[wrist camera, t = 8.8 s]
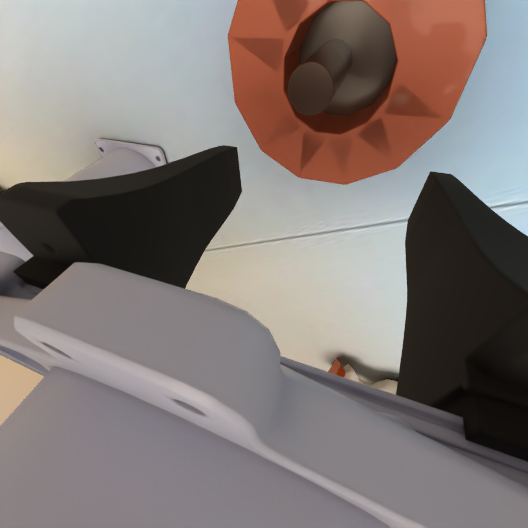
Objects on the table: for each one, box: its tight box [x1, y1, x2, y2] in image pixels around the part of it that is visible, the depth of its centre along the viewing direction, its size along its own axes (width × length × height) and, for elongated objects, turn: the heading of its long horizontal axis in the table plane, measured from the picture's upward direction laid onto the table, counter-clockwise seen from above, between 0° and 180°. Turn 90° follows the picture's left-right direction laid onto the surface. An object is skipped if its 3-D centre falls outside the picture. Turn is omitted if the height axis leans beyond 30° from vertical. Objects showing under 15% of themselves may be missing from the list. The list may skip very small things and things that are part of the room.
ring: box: [228, 0, 487, 184], centre depth 14 cm, size 11×11×3 cm
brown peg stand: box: [288, 1, 397, 116], centre depth 13 cm, size 7×7×7 cm
